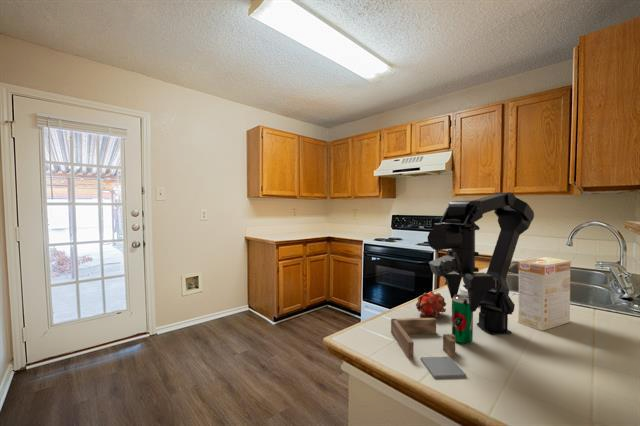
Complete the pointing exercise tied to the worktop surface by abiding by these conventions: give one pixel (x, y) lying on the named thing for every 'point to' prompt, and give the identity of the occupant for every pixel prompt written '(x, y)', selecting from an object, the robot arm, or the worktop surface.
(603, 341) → the worktop surface
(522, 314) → the coffeecake box
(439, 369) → the slate coaster
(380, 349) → the worktop surface
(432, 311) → the dragon fruit
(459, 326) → the soda can
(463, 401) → the worktop surface
